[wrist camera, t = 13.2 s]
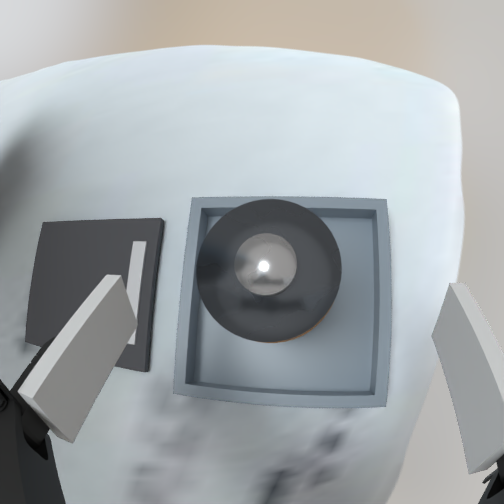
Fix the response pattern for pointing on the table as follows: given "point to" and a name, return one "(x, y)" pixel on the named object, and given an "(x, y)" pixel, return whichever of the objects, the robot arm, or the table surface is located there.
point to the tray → (312, 343)
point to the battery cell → (269, 271)
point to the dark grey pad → (94, 276)
